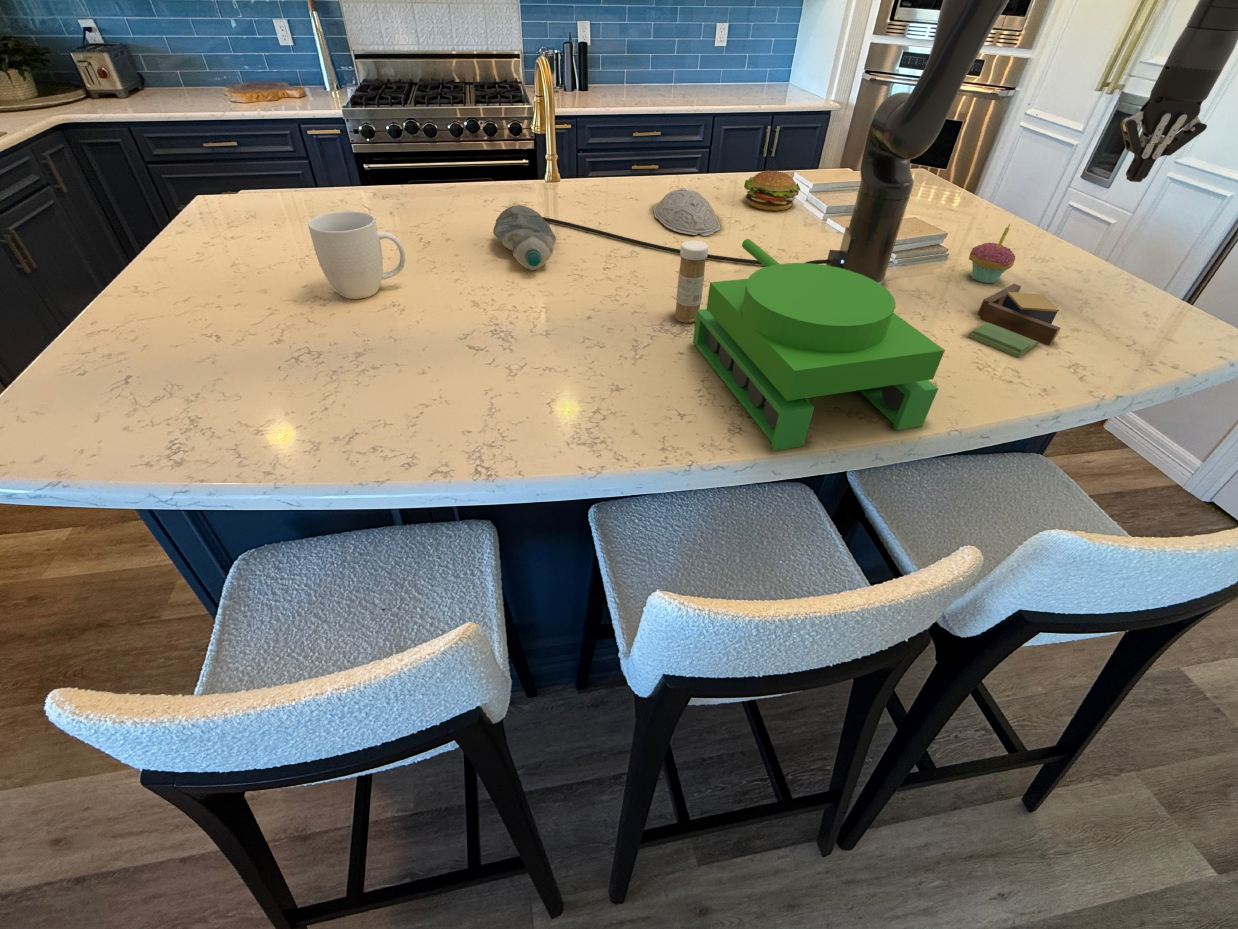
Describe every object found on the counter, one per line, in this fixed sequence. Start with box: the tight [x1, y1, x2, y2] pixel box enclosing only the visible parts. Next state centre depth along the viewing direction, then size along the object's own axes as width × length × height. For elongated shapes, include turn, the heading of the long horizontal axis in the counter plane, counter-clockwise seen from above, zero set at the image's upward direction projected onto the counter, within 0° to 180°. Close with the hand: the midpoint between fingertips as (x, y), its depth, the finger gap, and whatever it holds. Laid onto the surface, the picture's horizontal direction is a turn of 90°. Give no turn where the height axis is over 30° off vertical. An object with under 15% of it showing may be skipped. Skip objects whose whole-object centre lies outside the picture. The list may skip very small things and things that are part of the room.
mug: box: [307, 210, 406, 300], centre depth 113 cm, size 15×11×13 cm
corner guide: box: [977, 283, 1062, 346], centre depth 117 cm, size 10×19×3 cm, turn 174°
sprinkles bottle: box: [674, 240, 709, 324], centre depth 109 cm, size 5×5×13 cm
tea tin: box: [1002, 291, 1060, 325], centre depth 116 cm, size 7×7×4 cm
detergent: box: [492, 204, 557, 271], centre depth 131 cm, size 13×7×25 cm
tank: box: [692, 238, 946, 452], centre depth 94 cm, size 24×35×16 cm
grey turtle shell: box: [653, 187, 721, 237], centre depth 153 cm, size 16×25×7 cm, turn 8°
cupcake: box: [968, 223, 1016, 284], centre depth 128 cm, size 9×8×12 cm
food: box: [743, 170, 801, 212], centre depth 163 cm, size 14×14×8 cm
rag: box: [967, 321, 1039, 358], centre depth 110 cm, size 9×7×1 cm
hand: (1133, 180), depth 109 cm, fingers closed
